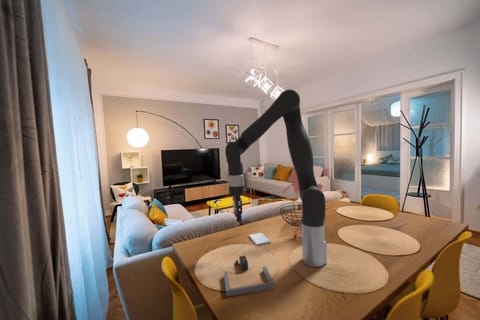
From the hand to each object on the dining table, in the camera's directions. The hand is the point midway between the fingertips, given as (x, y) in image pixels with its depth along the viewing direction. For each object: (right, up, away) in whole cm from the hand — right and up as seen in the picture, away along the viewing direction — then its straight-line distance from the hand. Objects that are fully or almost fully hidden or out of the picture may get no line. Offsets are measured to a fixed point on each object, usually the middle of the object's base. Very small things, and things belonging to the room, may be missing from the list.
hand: (237, 218), depth 96 cm
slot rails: (+4, -19, -18) cm, 27 cm away
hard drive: (+12, -17, +16) cm, 26 cm away
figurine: (+38, -15, +24) cm, 47 cm away
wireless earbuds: (+2, -19, -8) cm, 20 cm away
